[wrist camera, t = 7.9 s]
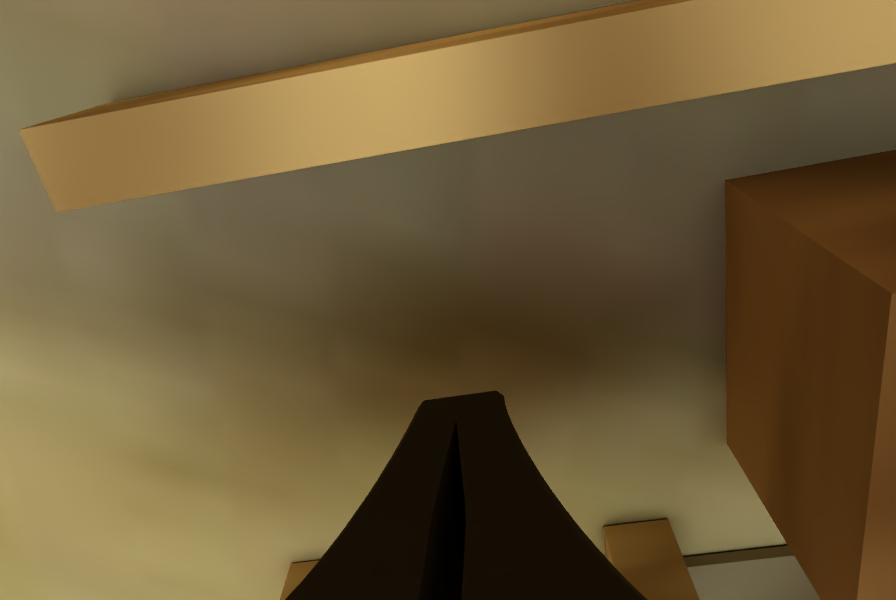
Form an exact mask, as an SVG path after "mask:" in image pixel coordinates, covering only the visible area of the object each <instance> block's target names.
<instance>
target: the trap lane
mask: <svg viewBox="0 0 896 600" xmlns="http://www.w3.org/2000/svg"><path fill="white" fill-rule="evenodd" d="M892 63H896V0H637V1H632V2H627V3H622V4H617V5H612V6H606V7H601V8H596V9H591V10H586V11H581V12H575V13H570V14H565V15H560V16H555V17H550V18H544V19H539V20H534V21H529V22H524V23H519V24H513V25H508V26H503V27H498V28H493V29H488V30H482V31H477V32H472V33H467V34H462V35H457V36H451V37H446V38H441V39H436V40H431V41H426V42H420V43H415V44H410V45H405V46H400V47H395V48H389V49H384V50H379V51H374V52H369V53H364V54H358V55H353V56H348V57H343V58H338V59H333V60H327V61H322V62H317V63H312V64H307V65H302V66H296V67H291V68H286V69H281V70H276V71H271V72H265V73H260V74H255V75H250V76H245V77H240V78H234V79H229V80H224V81H219V82H214V83H209V84H203V85H198V86H193V87H188V88H183V89H178V90H172V91H167V92H162V93H157V94H152V95H147V96H141V97H136V98H131V99H126V100H121V101H116V102H110V103H107V104H103V105H100V106H97V107H93V108H90V109H87V110H83V111H80V112H77V113H73V114H70V115H67V116H63V117H60V118H56V119H53V120H50V121H46V122H43V123H40V124H36V125H33V126H30V127H26V128H23V129H20V130H19V132H20V134H21V136H22V139H23V141H24V143H25V145H26V147H27V149H28V152H29V154H30V156H31V158H32V160H33V162H34V165H35V167H36V169H37V171H38V173H39V175H40V178H41V180H42V182H43V184H44V186H45V188H46V191H47V193H48V195H49V197H50V199H51V201H52V204H53V206H54V208H55V210H56V212H61V211H67V210H72V209H78V208H83V207H89V206H95V205H100V204H106V203H112V202H117V201H123V200H128V199H134V198H140V197H145V196H151V195H156V194H162V193H168V192H173V191H179V190H185V189H190V188H196V187H201V186H207V185H213V184H218V183H224V182H230V181H235V180H241V179H246V178H252V177H258V176H263V175H269V174H274V173H280V172H286V171H291V170H297V169H303V168H308V167H314V166H319V165H325V164H331V163H336V162H342V161H347V160H353V159H359V158H364V157H370V156H376V155H381V154H387V153H392V152H398V151H404V150H409V149H415V148H421V147H426V146H432V145H437V144H443V143H449V142H454V141H460V140H465V139H471V138H477V137H482V136H488V135H494V134H499V133H505V132H510V131H516V130H522V129H527V128H533V127H539V126H544V125H550V124H555V123H561V122H567V121H572V120H578V119H583V118H589V117H595V116H600V115H606V114H612V113H617V112H623V111H628V110H634V109H640V108H645V107H651V106H656V105H662V104H668V103H673V102H679V101H685V100H690V99H696V98H701V97H707V96H713V95H718V94H724V93H730V92H735V91H741V90H746V89H752V88H758V87H763V86H769V85H774V84H780V83H786V82H791V81H797V80H803V79H808V78H814V77H819V76H825V75H831V74H836V73H842V72H847V71H853V70H859V69H864V68H870V67H876V66H881V65H887V64H892ZM603 528H604V538H605V548H606V558H607V559H608V560H609V561H610V562H611V564H612V565H613V566H614V567H615V568H616V569H617V570H618V571H619V572H620V573H621V574H622V575H623V576H624V577H625V578H626V579H627V580H628V581H629V582H630V583H631V584H632V585H633V586H634V587H635V588H636V589H637V590H638V591H639V592H640V593H641V594H642V595H643V596H644V597H645V598H646V599H648V600H821V599H820V598H819V596H818V594H817V593H816V591H815V589H814V588H813V586H812V584H811V583H810V581H809V579H808V578H807V576H806V574H805V573H804V571H803V569H802V568H801V566H800V564H799V563H798V561H797V559H796V558H795V556H794V554H793V553H792V551H791V549H790V548H789V546H779V547H770V548H762V549H753V550H744V551H735V552H726V553H717V554H708V555H700V556H691V557H683V556H682V554H681V551H680V549H679V546H678V544H677V541H676V539H675V536H674V534H673V531H672V529H671V526H670V524H669V521H668V519H665V520H656V521H648V522H639V523H631V524H622V525H614V526H605V527H603ZM317 562H318V561H310V562H302V563H293V564H291V565H290V568H289V571H288V575H287V578H286V581H285V585H284V588H283V591H282V595H281V598H280V600H285V599H286V598H287V597H288V596H289V594H290V593H291V592H292V591H293V590H294V589H295V588H296V587H297V586H298V585H299V584H300V583H301V581H302V580H303V579H304V578H305V577H306V576H307V574H308V573H309V572H310V571H311V570H312V568H313V567H314V566H315V565H316V564H317Z"/></svg>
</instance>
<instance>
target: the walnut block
mask: <svg viewBox="0 0 896 600" xmlns="http://www.w3.org/2000/svg"><path fill="white" fill-rule="evenodd" d="M725 214H726V362H727V444H728V446H729V448H730V449H731V451H732V453H733V454H734V456H735V458H736V459H737V461H738V463H739V464H740V466H741V468H742V469H743V471H744V473H745V474H746V476H747V478H748V479H749V481H750V483H751V484H752V486H753V488H754V489H755V491H756V493H757V494H758V496H759V498H760V499H761V501H762V503H763V504H764V506H765V508H766V509H767V511H768V513H769V514H770V516H771V518H772V519H773V521H774V523H775V524H776V526H777V528H778V529H779V531H780V533H781V534H782V536H783V538H784V539H785V541H786V543H787V544H788V546H789V548H790V549H791V551H792V553H793V554H794V556H795V558H796V559H797V561H798V563H799V564H800V566H801V568H802V569H803V571H804V573H805V574H806V576H807V578H808V579H809V581H810V583H811V584H812V586H813V588H814V589H815V591H816V593H817V594H818V596H819V598H820V599H821V600H896V150H892V151H887V152H881V153H875V154H870V155H864V156H859V157H853V158H847V159H842V160H836V161H830V162H825V163H819V164H814V165H808V166H802V167H797V168H791V169H786V170H780V171H774V172H769V173H763V174H758V175H752V176H746V177H741V178H735V179H729V180H725Z"/></svg>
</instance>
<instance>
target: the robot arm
mask: <svg viewBox="0 0 896 600" xmlns="http://www.w3.org/2000/svg"><path fill="white" fill-rule="evenodd" d="M285 600H648V599H646V598H645V597H644V596H643V595H642V594H641V593H640V592H639V591H638V590H637V589H636V588H635V587H634V586H633V585H632V584H631V583H630V582H629V581H628V580H627V579H626V578H625V577H624V576H623V575H622V574H621V573H620V572H619V571H618V570H617V569H616V568H615V567H614V566H613V565H612V564H611V562H610V561H609V560H608V559H607V558H606V557H605V556H604V555H603V554H602V553H601V552H600V551H599V549H598V548H597V547H596V546H595V545H594V544H593V542H592V541H591V540H590V539H589V538H588V537H587V535H586V534H585V533H584V532H583V531H582V530H581V528H580V527H579V526H578V525H577V523H576V522H575V521H574V520H573V518H572V517H571V516H570V515H569V513H568V512H567V511H566V509H565V508H564V507H563V505H562V504H561V503H560V501H559V500H558V498H557V497H556V496H555V494H554V493H553V492H552V490H551V489H550V487H549V486H548V484H547V483H546V481H545V480H544V478H543V477H542V476H541V474H540V472H539V471H538V469H537V468H536V466H535V464H534V463H533V461H532V459H531V458H530V456H529V454H528V453H527V451H526V449H525V448H524V446H523V444H522V442H521V440H520V439H519V437H518V435H517V432H516V430H515V428H514V426H513V424H512V422H511V420H510V417H509V415H508V412H507V409H506V405H505V400H504V396H503V395H502V394H500V393H499V392H497V391H490V392H483V393H475V394H468V395H461V396H453V397H446V398H439V399H432V400H424V401H423V402H422V404H421V405H420V406H419V408H418V410H417V412H416V413H415V415H414V417H413V419H412V421H411V423H410V425H409V427H408V429H407V431H406V432H405V434H404V436H403V438H402V440H401V441H400V443H399V445H398V447H397V448H396V450H395V452H394V454H393V455H392V457H391V459H390V460H389V462H388V464H387V465H386V467H385V468H384V470H383V472H382V473H381V475H380V477H379V478H378V480H377V481H376V483H375V485H374V486H373V488H372V489H371V491H370V492H369V494H368V495H367V497H366V498H365V500H364V501H363V502H362V504H361V505H360V507H359V508H358V510H357V511H356V512H355V514H354V515H353V517H352V518H351V520H350V521H349V522H348V524H347V525H346V527H345V528H344V529H343V531H342V532H341V533H340V535H339V536H338V537H337V539H336V540H335V541H334V543H333V544H332V545H331V546H330V548H329V549H328V550H327V551H326V553H325V554H324V555H323V556H322V558H321V559H320V560H319V561H318V562H317V564H316V565H315V566H314V567H313V568H312V570H311V571H310V572H309V573H308V574H307V576H306V577H305V578H304V579H303V580H302V581H301V583H300V584H299V585H298V586H297V587H296V588H295V589H294V590H293V591H292V592H291V593H290V594H289V596H288V597H287V598H286V599H285Z"/></svg>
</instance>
